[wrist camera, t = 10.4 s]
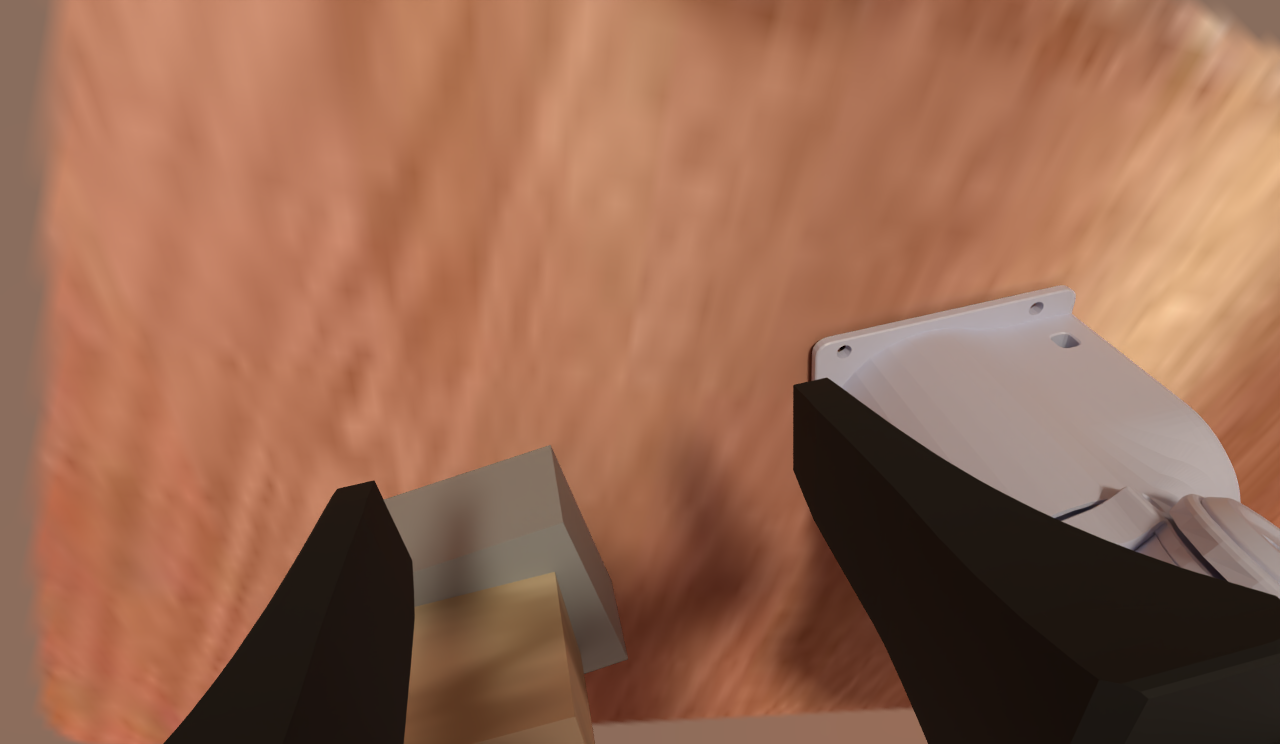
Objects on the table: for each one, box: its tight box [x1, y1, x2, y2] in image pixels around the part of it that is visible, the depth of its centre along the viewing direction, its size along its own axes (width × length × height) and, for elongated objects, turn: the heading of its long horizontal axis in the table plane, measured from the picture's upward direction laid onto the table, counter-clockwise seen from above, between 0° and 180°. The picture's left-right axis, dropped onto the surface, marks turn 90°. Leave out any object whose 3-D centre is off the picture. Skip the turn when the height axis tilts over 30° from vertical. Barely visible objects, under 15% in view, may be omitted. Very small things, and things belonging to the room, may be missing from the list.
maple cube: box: [404, 572, 595, 744], centre depth 24 cm, size 5×5×5 cm
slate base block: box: [384, 445, 628, 674], centre depth 27 cm, size 8×8×4 cm
